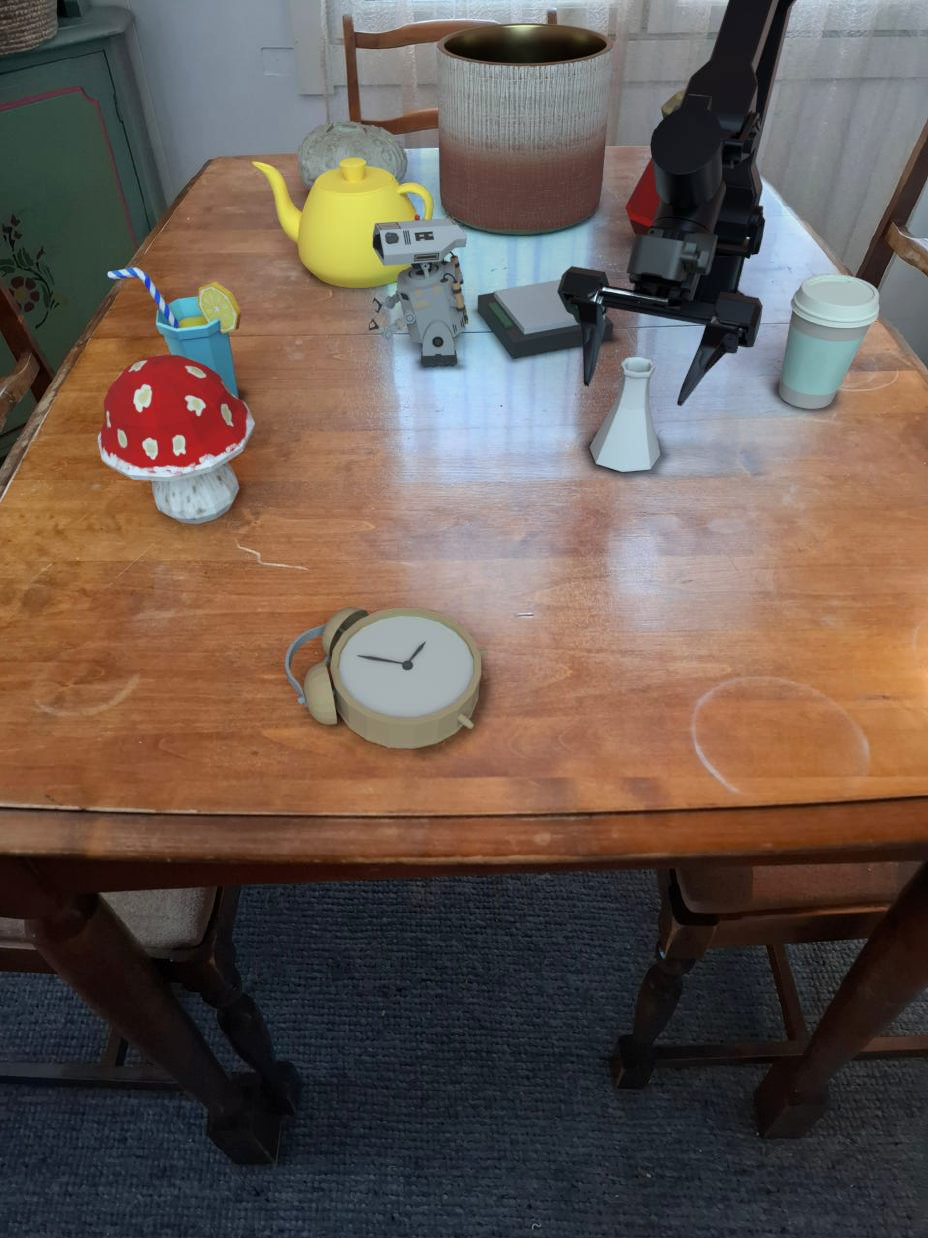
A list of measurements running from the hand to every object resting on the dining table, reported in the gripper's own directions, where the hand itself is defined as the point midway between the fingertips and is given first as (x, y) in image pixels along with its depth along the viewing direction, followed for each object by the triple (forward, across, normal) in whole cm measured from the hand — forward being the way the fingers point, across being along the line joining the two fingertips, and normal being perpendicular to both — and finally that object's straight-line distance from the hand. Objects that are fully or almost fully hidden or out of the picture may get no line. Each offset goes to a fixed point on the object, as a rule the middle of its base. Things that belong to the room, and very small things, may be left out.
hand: (631, 394), depth 77 cm
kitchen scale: (-11, -18, +22) cm, 30 cm away
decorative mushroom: (+22, -36, -11) cm, 43 cm away
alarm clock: (+31, -8, -20) cm, 38 cm away
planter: (-36, -35, +46) cm, 68 cm away
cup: (+11, -46, 0) cm, 47 cm away
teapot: (-16, -48, +26) cm, 57 cm away
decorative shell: (-33, -62, +43) cm, 83 cm away
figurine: (-3, -29, +14) cm, 32 cm away
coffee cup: (-8, +15, +19) cm, 26 cm away
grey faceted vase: (+5, 0, +6) cm, 8 cm away
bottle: (-31, -8, +41) cm, 52 cm away
